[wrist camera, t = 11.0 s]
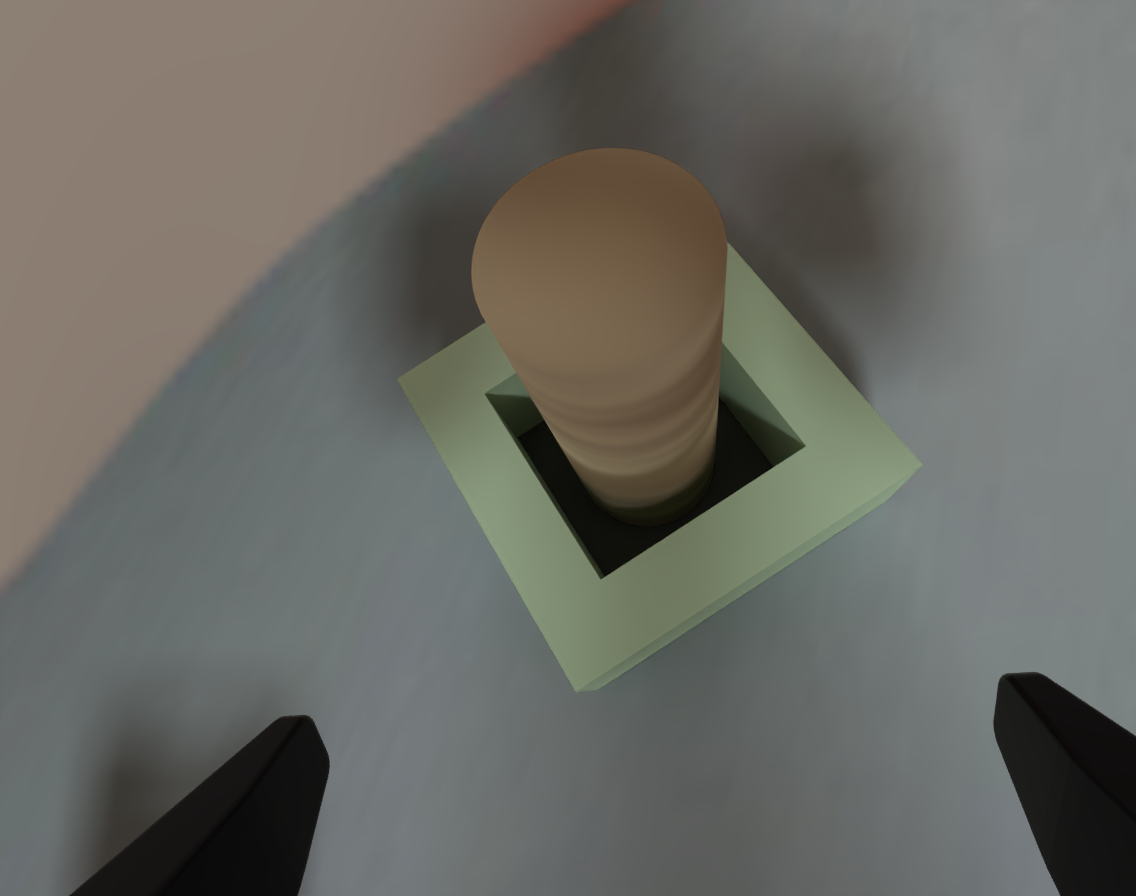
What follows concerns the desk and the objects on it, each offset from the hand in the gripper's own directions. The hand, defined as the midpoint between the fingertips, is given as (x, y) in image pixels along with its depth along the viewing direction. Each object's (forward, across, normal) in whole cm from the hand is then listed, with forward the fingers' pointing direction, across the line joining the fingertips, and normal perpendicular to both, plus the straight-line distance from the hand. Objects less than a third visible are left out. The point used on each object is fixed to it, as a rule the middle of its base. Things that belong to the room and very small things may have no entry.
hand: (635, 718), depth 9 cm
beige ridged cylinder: (+14, 0, +4) cm, 14 cm away
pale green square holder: (+14, 0, +4) cm, 14 cm away
